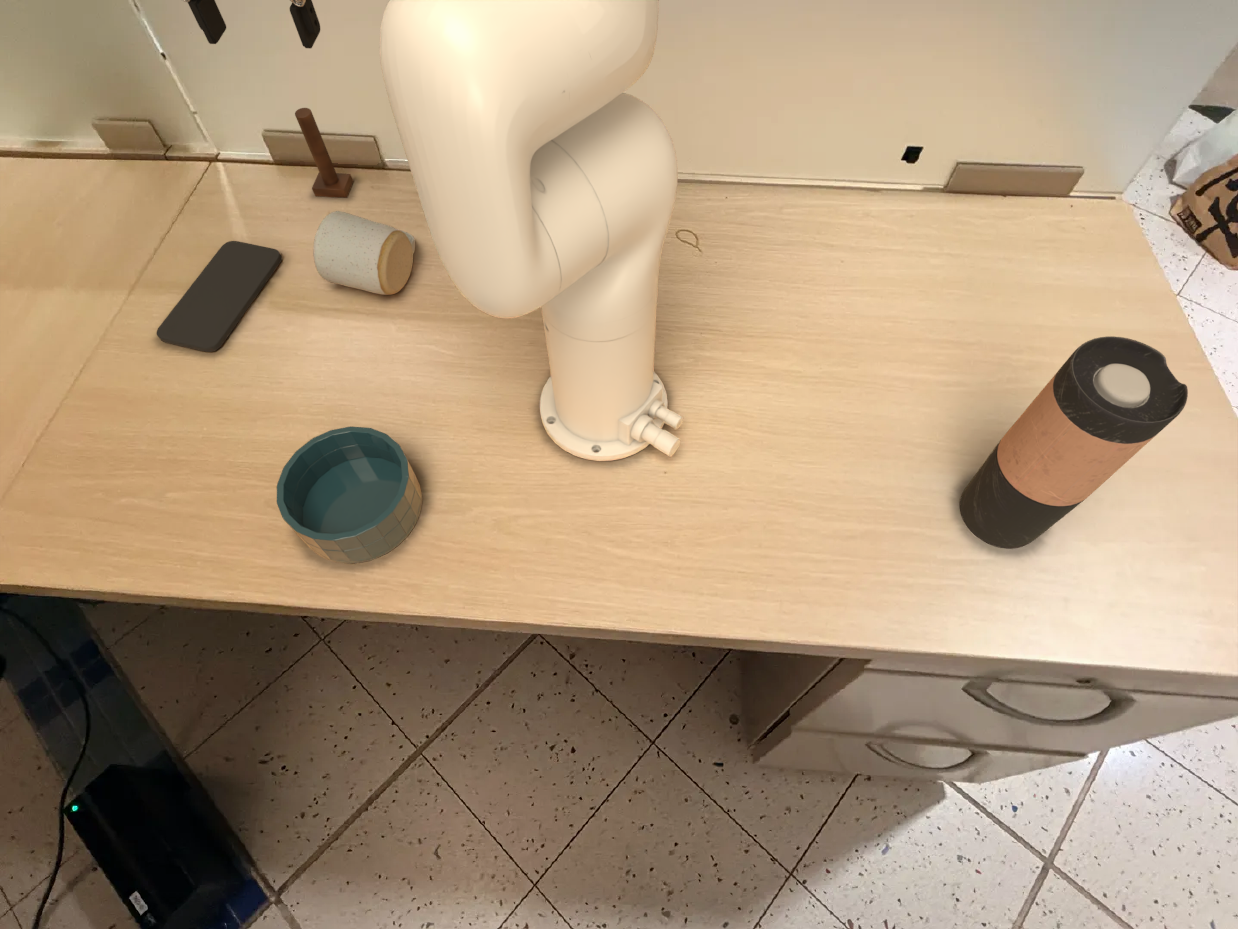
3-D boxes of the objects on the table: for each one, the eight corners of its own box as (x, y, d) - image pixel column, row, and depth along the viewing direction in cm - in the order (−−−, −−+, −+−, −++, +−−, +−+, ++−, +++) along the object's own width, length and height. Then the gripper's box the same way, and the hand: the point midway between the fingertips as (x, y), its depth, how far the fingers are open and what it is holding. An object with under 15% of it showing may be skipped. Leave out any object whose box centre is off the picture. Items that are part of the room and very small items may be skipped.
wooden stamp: (353, 181, 91) (324, 104, 82) (347, 197, 89) (316, 121, 80) (322, 180, 91) (289, 103, 82) (315, 196, 89) (281, 119, 81)
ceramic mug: (394, 311, 79) (374, 257, 73) (327, 296, 81) (301, 241, 74) (435, 246, 85) (419, 191, 78) (371, 233, 86) (350, 177, 80)
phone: (151, 335, 77) (226, 238, 84) (155, 341, 78) (229, 244, 85) (212, 350, 76) (283, 250, 83) (216, 355, 77) (286, 255, 84)
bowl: (434, 460, 70) (421, 431, 66) (406, 568, 64) (390, 544, 60) (320, 451, 70) (300, 422, 66) (282, 558, 65) (257, 534, 60)
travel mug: (943, 524, 66) (1054, 390, 49) (973, 463, 69) (1087, 318, 52) (1027, 567, 64) (1175, 444, 46) (1054, 502, 67) (1202, 364, 50)
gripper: (51, -159, 58) (167, 56, 72) (266, -151, 57) (339, 64, 72) (93, -197, 61) (195, 14, 76) (295, -191, 61) (358, 21, 75)
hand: (265, 38), depth 74 cm, fingers open, 9 cm apart
